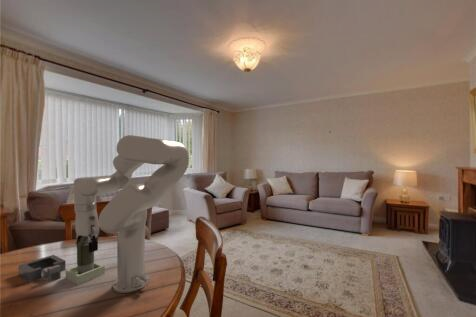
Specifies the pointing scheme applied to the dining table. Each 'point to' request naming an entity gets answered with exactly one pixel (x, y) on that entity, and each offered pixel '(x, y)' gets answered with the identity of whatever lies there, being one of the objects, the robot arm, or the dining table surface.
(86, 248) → the grenade
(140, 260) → the robot arm
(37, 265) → the socket
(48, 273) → the grey stepped block
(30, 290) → the dining table surface
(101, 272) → the tray
